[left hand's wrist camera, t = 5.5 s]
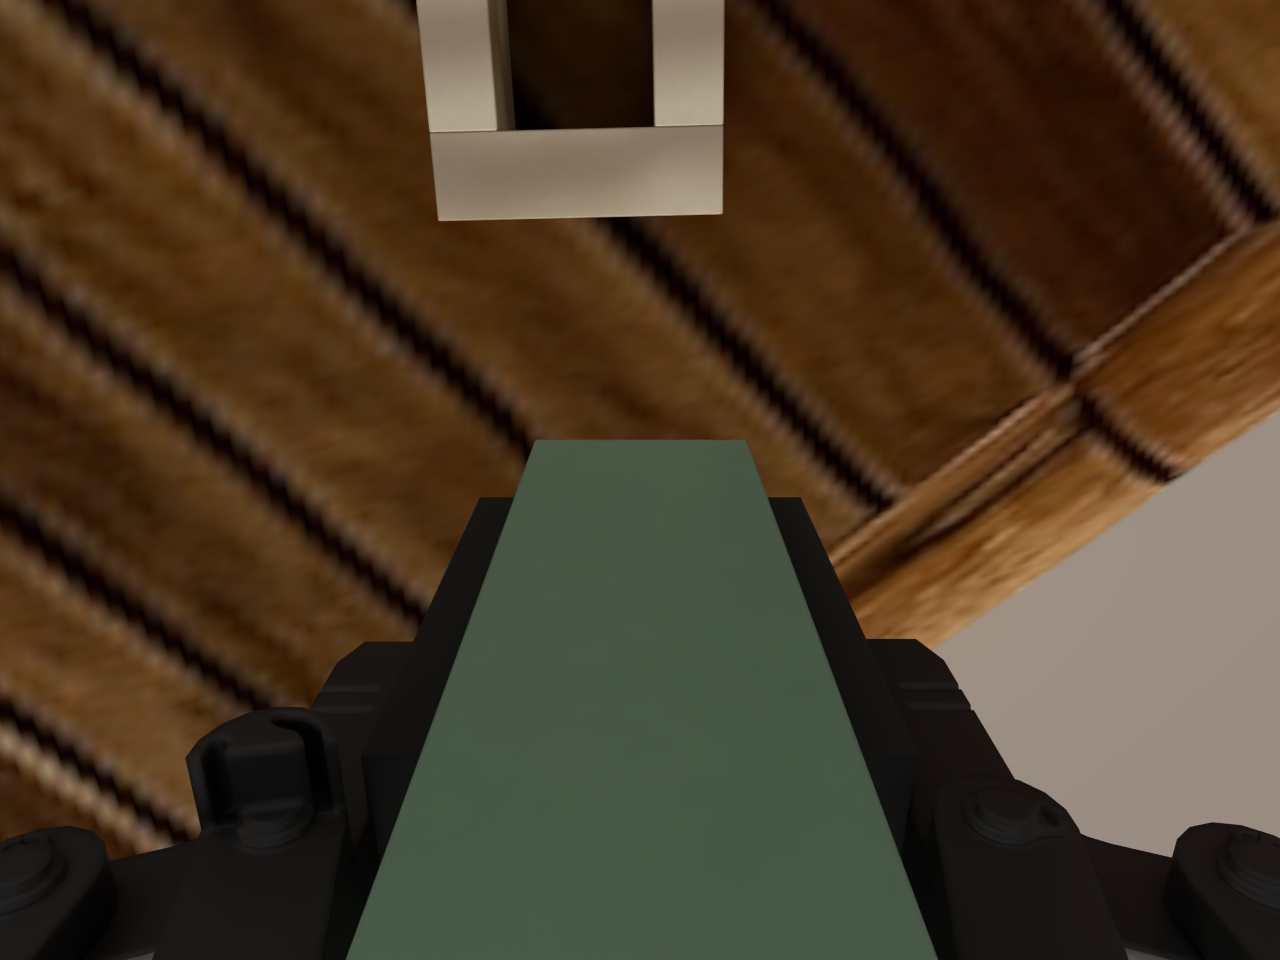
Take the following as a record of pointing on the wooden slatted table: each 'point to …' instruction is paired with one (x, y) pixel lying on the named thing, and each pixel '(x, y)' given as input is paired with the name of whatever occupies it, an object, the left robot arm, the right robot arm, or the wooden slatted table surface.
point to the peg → (641, 741)
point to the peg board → (571, 158)
